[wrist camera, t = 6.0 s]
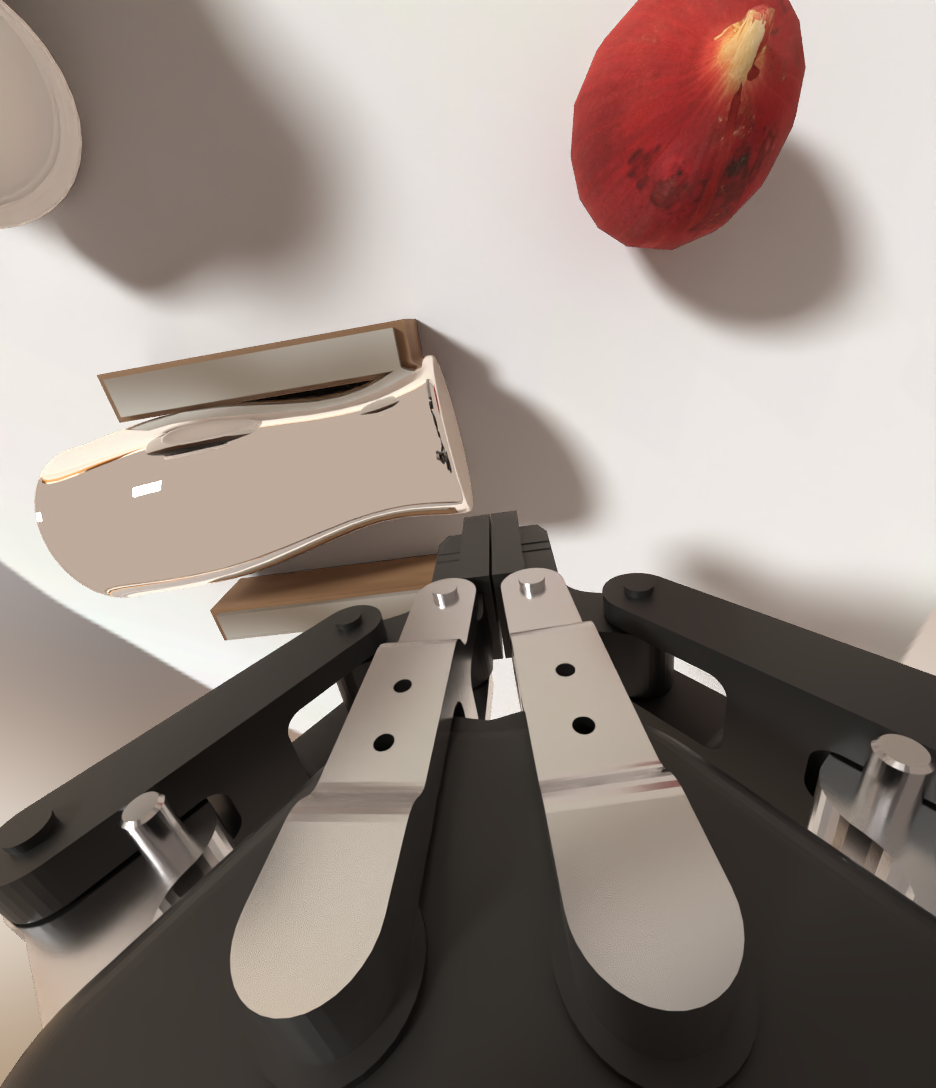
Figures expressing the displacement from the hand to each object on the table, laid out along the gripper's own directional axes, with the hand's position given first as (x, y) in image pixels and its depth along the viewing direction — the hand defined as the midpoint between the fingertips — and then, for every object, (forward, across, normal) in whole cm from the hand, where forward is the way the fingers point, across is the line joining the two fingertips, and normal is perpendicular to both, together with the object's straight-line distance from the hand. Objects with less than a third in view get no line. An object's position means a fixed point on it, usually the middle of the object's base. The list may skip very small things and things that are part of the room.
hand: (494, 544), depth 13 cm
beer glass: (+6, +1, -2) cm, 6 cm away
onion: (+9, -7, -10) cm, 15 cm away
